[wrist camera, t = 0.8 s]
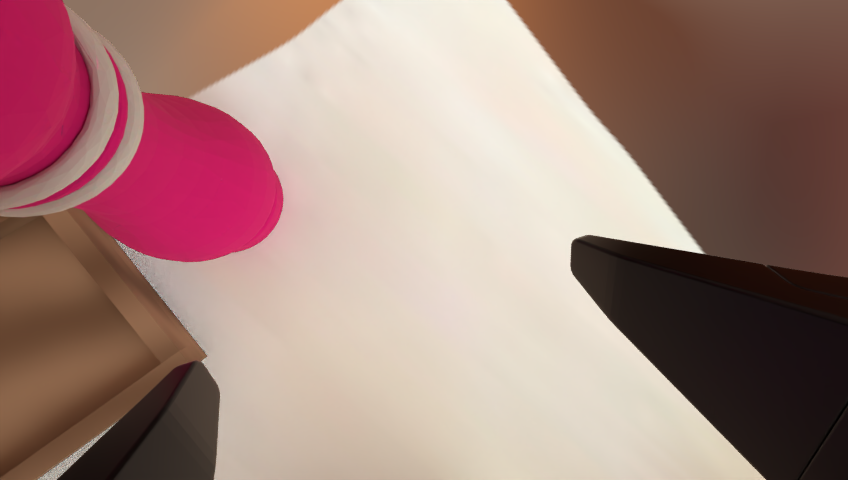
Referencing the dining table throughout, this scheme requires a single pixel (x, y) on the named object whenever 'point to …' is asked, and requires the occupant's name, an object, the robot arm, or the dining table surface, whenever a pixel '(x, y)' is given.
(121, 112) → the pepper mill
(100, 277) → the walnut tray
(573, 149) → the dining table surface
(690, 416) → the dining table surface
